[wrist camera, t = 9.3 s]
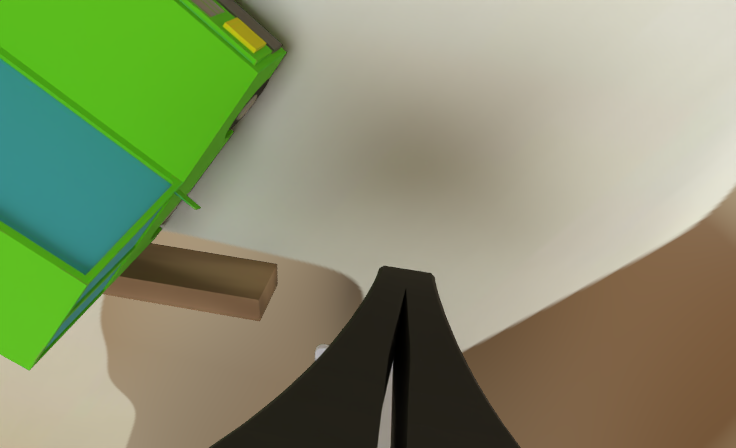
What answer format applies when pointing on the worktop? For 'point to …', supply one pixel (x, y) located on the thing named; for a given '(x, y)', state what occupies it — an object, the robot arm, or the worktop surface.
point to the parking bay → (198, 281)
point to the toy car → (107, 140)
